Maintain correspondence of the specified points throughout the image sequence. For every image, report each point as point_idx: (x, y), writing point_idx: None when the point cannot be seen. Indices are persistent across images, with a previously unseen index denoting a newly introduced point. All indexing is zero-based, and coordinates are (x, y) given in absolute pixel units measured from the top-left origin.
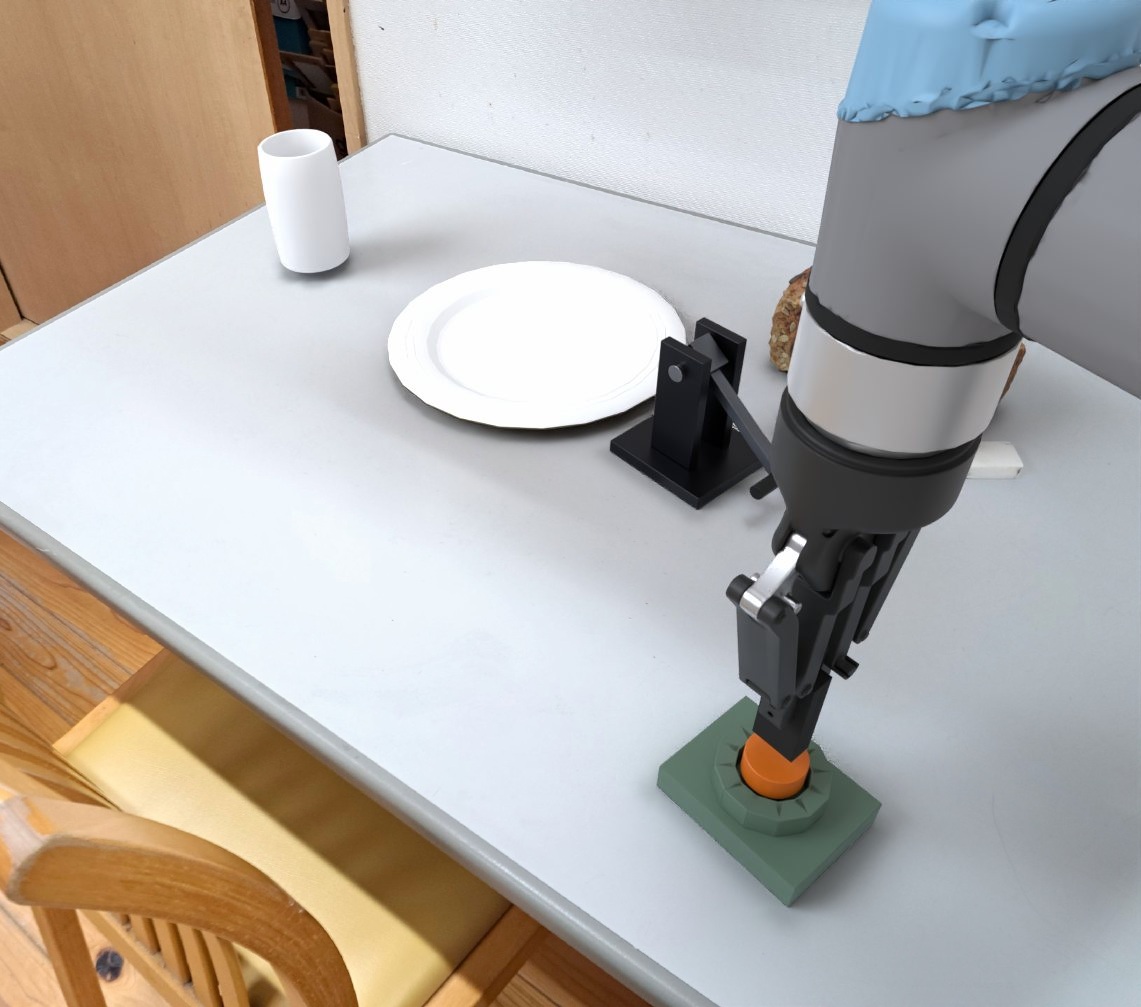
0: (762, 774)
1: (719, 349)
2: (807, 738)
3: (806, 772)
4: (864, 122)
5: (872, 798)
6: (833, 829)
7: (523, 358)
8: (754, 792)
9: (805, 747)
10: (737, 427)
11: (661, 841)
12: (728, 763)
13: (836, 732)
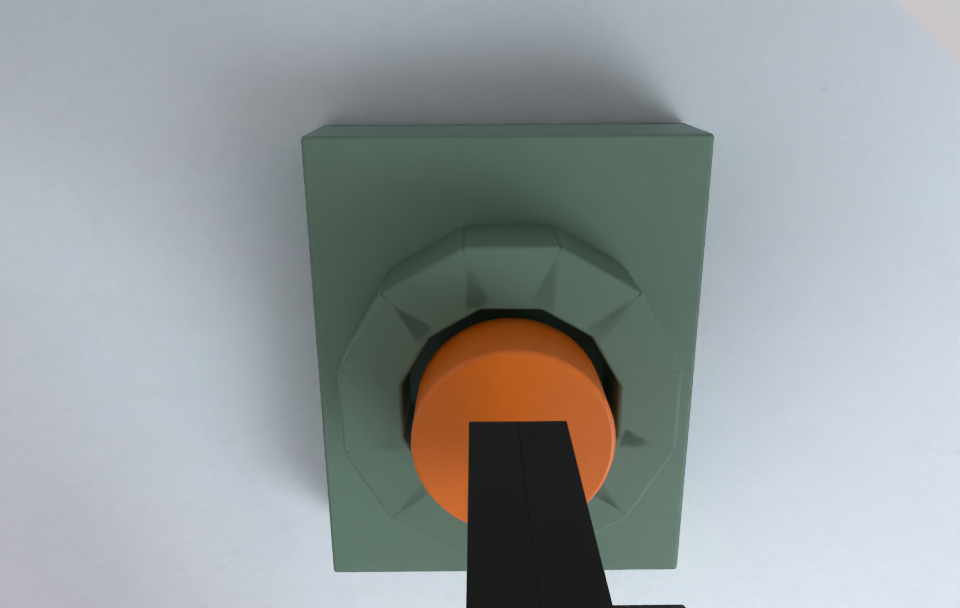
0: (606, 432)
1: None
2: (502, 467)
3: (491, 353)
4: None
5: (310, 166)
6: (481, 178)
7: None
8: None
9: (493, 433)
10: None
11: (760, 418)
12: (597, 496)
13: (188, 347)
